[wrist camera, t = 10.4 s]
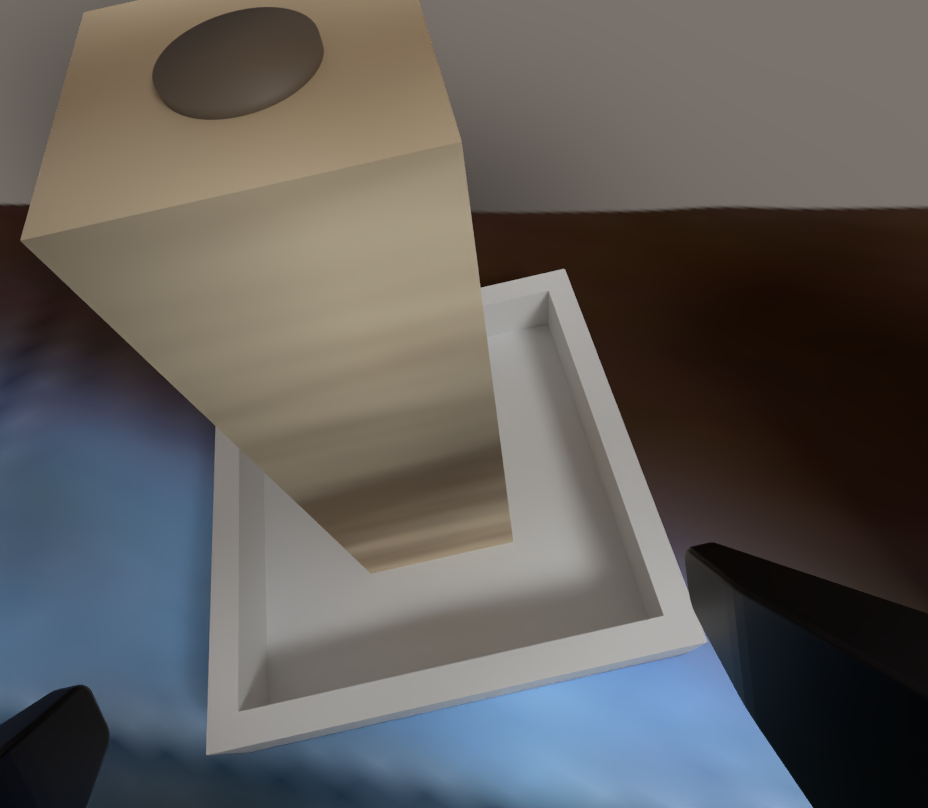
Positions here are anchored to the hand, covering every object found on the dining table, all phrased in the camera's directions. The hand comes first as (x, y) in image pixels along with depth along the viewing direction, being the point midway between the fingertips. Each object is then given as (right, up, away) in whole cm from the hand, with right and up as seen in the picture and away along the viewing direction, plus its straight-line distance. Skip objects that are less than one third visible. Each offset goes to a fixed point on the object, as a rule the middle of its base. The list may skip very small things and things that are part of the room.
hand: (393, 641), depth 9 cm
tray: (0, 0, +11) cm, 11 cm away
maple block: (0, +1, +10) cm, 10 cm away
